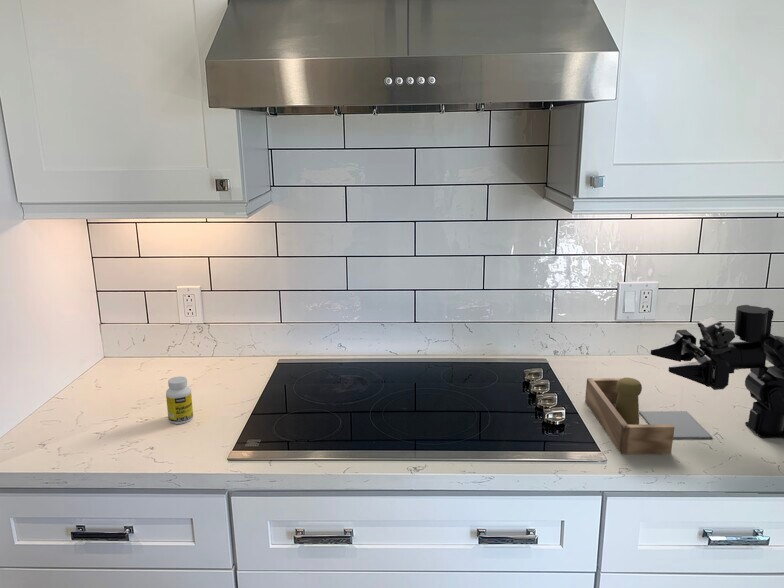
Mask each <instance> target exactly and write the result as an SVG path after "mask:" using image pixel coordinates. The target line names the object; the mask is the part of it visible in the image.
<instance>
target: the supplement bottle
mask: <svg viewBox="0 0 784 588" xmlns="http://www.w3.org/2000/svg"><path fill="white" fill-rule="evenodd" d="M167 384H168V385H167V386H168V388H167V389H166V392H165V398H166V408H167V417H168V419H167V420H168V421H169V422H170V424H173V425H181V424H182V425H183V424H187V423H188V422H191V421H192V420H193V418H194V410H193V398H192V389H191V387H190V386H189V385H188V379H187V377H186V376H181V375H180V376H174V377H170V378H169V379H168V382H167Z"/></svg>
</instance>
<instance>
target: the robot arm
mask: <svg viewBox="0 0 784 588" xmlns="http://www.w3.org/2000/svg"><path fill="white" fill-rule="evenodd" d="M735 310H736V311H735V321H734V331H733V330H732V329H730V328H725V327H726V326H725V325H724V324H723V323H722V322H721V321H720V320H718V319H717V318H715V317H714V316H710V317H707V318H705V319H702V320H700V321H698V322H697V323H696V324H697V327H698V328H699V330H700V332H701V336H702V338H699V343H698V345H699V346H697V337H695V336H694V334H692V333H691V332H689V331H688V330H687V329H677V330H676V331H675V334H674V338H673V339H672V340H671V341H669V342H668V343H667V342H666V343H665V344H661V345H660V346H657V347H654V348H652V349H651V350H650V355H652V356H653V357H659V358H662V359H667V360H672V361H675V362H680V363H681V362H682V361H684V362H686V363H682V364H675V365H671V366H669V367H668V371H667V372H669V373H670V374H674V375H676V376H679V377H682V378H684V379H687V380H690V381H693V382H695V383H698V384H700V385H703V386H705V387H707V388H711V389H712V390H714V391H717V390H724V389H725V388H726V387H727V386H729V379H730V374H735V370H745V369H750V370H749V371H750V372H749V373H748V374H747V376H746V377H745V380H744V386H745V388H746V390H747V391H749V393H750V397H751V398H752V399H754V400H755V401H753V403H752V408H750V410H749V416H748V421H745V422H744V424H745V426H746V427H748V429H750V430H751V431H752V432H753V433H754V434H755V435H757V436H758V437H759V438H761V439H778V438H779V439H784V336H781V335H774V334H772V333H771V330H772V322H773V319H774V314H775V313H774V310H773V309H772V308H770V307H761V306H756V305H750V304H743V305H738V306H736V309H735ZM736 336H737V337H738V338H739V340H740V341H734V342H732V341H733V340H735V338H736ZM693 359H694V360H696V361H693ZM691 361H693V362H691ZM766 362H768V363H770V364H771V365H773V366H767V365H766Z"/></svg>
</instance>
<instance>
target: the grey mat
mask: <svg viewBox="0 0 784 588" xmlns="http://www.w3.org/2000/svg"><path fill="white" fill-rule="evenodd" d="M639 416H641V417H642V419H643V420H644V421H645V422H646V421H647V422H648V423H647V422H646V423H647V425H650V424H672V425H673V426H674V427H675V428H674V435H673V440H676V439H677V440H678V439H687V440H688V439H689V440H690V439H713V436H712V435H711V434H710V432H708V430H706V429H705V428H704V427H703V426H702V425H701V423H699V422H698V421H697V420H696V418H694V417H693V416H692V414H690V412H688V410H684V411H683V410H678V411H677V410H673V411H671V410H669V411H668V410H667V411H666V410H665V411H663V410H658V411H657V410H655V411H654V410H653V411H652V410H651V411H650V410H648V411H647V410H646V411H643V410H642V411H641V410H639Z"/></svg>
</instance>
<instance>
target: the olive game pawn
mask: <svg viewBox="0 0 784 588" xmlns="http://www.w3.org/2000/svg"><path fill="white" fill-rule="evenodd" d="M620 378H621V377H620ZM642 386H643V385H642V383H641V382H640V381H639V380H638V379H636V378H633V377H622V378H621V379H619V381H618V382H617V386H616V388H617V391H618V396H617V400H616V403H614V407H615V409H616V410H617V411H618V413H619V414H620V415H621V417H622V418H623V419H624V420H625V422H626V423H627V424H628V425H640V413H639V411H640V410H639V409H640V407H639V396H640V395H641V393H642V390H643V387H642Z"/></svg>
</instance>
